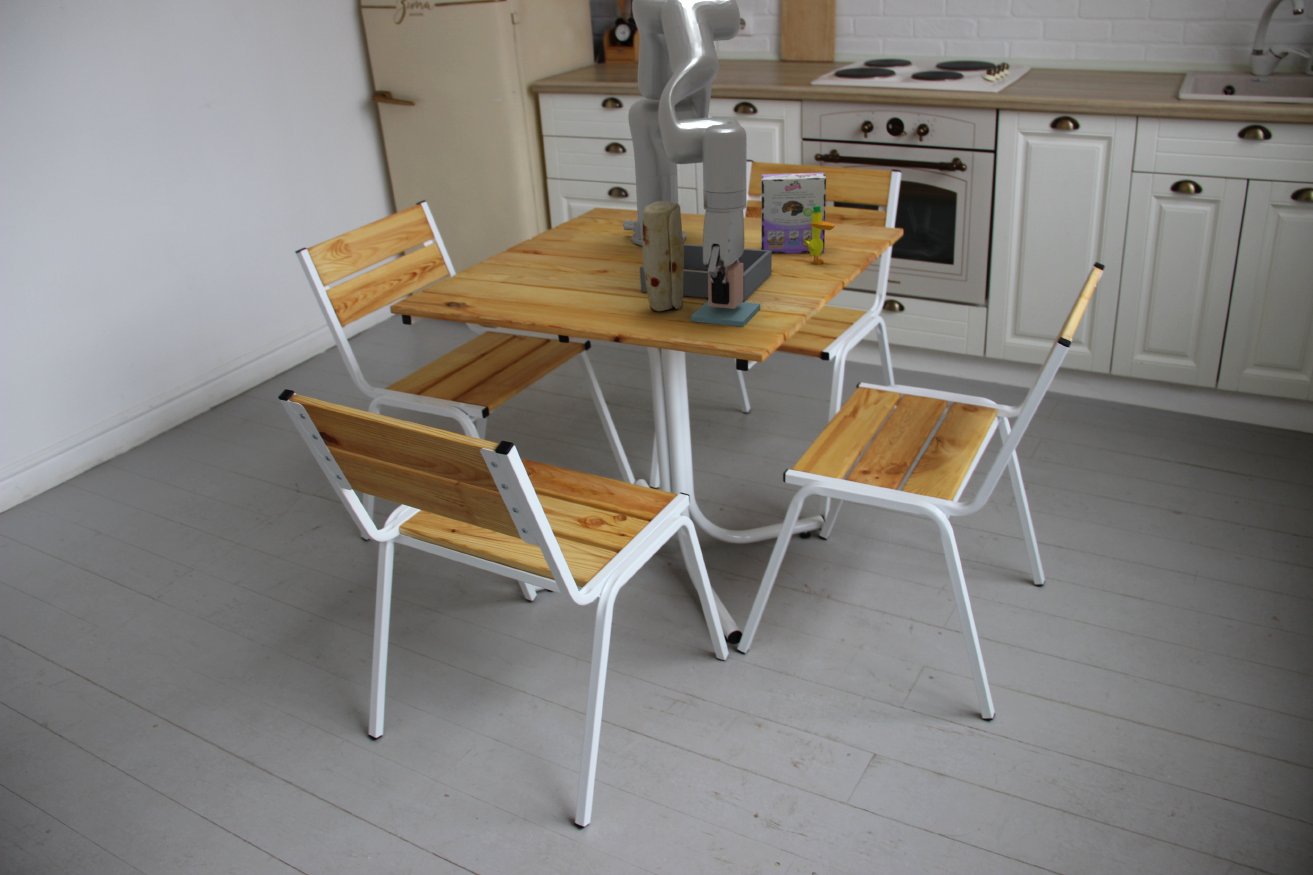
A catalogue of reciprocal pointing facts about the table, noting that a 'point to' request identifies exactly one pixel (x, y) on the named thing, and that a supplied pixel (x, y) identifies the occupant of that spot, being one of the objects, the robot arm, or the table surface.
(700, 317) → the pad
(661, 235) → the food model
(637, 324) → the table surface
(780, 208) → the candy box
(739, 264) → the block
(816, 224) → the toy figure
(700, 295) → the crate
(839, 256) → the table surface
